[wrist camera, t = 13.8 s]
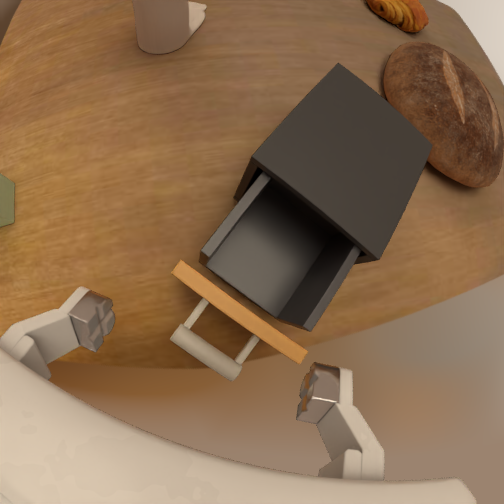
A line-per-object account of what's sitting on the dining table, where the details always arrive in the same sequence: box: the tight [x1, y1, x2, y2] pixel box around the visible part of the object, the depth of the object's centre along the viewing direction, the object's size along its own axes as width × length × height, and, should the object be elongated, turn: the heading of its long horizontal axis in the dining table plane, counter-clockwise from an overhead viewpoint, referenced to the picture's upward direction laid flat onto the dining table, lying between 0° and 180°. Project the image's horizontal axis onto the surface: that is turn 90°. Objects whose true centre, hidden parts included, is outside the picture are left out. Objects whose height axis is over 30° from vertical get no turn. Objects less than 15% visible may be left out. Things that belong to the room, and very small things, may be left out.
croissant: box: [366, 0, 428, 32], centre depth 41 cm, size 14×16×8 cm
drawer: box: [170, 171, 362, 381], centre depth 26 cm, size 18×11×9 cm, turn 144°
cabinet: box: [233, 63, 433, 265], centre depth 29 cm, size 15×13×11 cm
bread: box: [383, 42, 504, 188], centre depth 36 cm, size 26×27×10 cm
